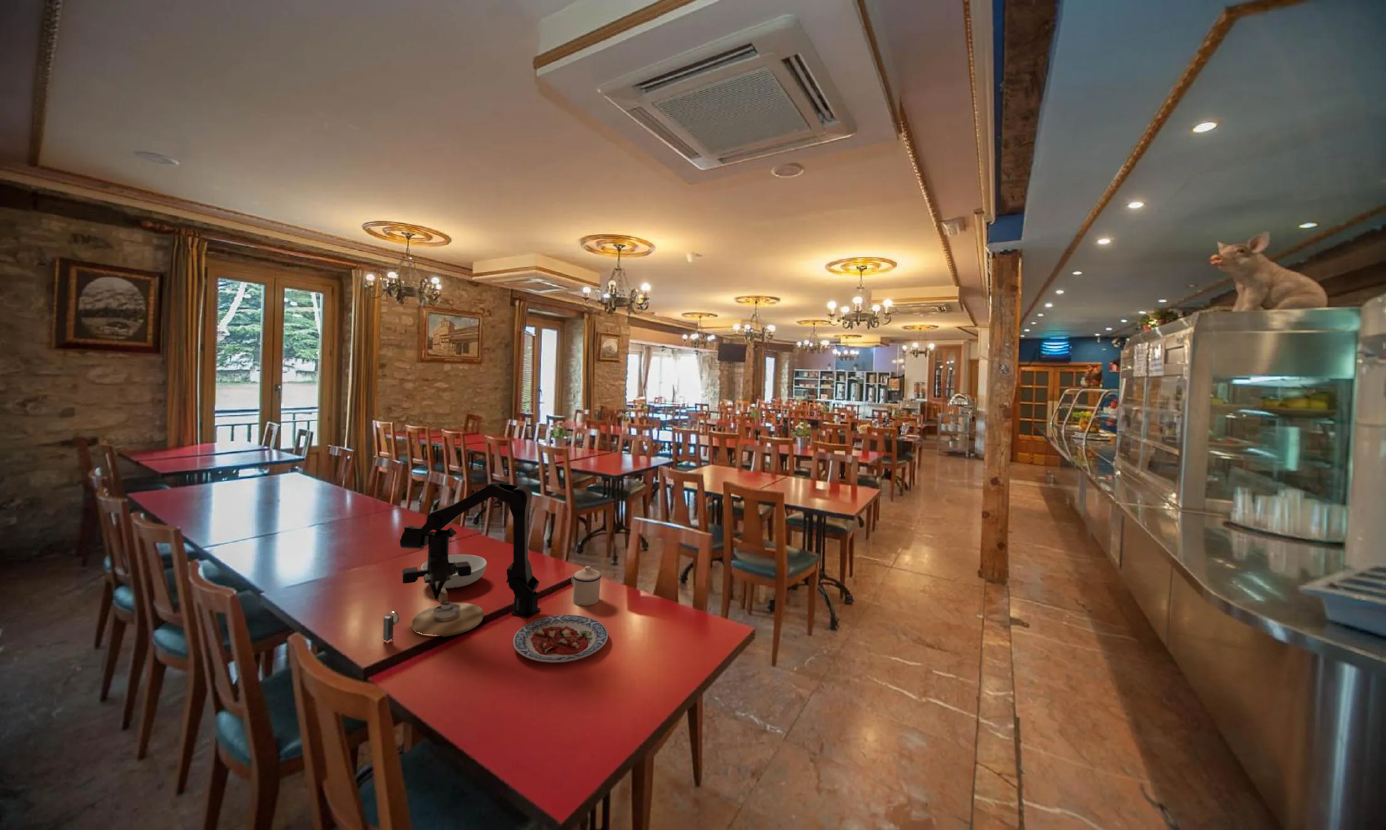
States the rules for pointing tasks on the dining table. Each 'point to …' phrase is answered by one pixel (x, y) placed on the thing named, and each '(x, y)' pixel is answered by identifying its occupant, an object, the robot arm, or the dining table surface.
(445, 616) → the cover
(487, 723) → the dining table surface
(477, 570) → the serving bowl
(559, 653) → the ceramic plate
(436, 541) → the robot arm
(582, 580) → the teacup with lid
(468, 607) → the tan piece
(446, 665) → the dining table surface
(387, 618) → the dial gauge
